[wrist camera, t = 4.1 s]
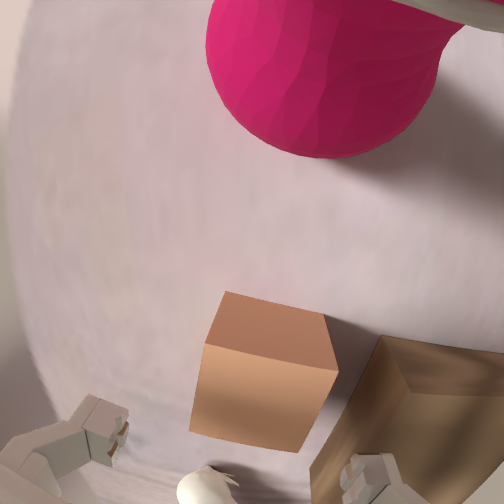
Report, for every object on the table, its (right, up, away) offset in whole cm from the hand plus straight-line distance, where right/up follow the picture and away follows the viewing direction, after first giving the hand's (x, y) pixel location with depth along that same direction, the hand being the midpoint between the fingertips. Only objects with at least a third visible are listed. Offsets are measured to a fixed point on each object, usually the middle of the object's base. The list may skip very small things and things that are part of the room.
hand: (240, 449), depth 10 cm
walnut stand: (+12, -5, +8) cm, 15 cm away
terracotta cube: (+1, +2, +7) cm, 7 cm away
